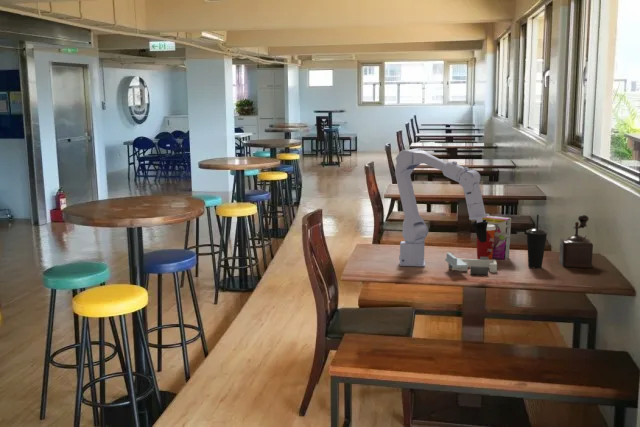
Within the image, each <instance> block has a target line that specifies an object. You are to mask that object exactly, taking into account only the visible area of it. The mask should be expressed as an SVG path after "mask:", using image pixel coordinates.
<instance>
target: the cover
mask: <svg viewBox="0 0 640 427" xmlns="http://www.w3.org/2000/svg"><path fill="white" fill-rule="evenodd" d="M451 253H452V252H446V257H445V258H444V262H447V263H448V264H450V265H451V266H452V267H467V264H466V263H464V262H463V261H462V260H460V259H461V258H459V257H456V256H455V255H454V254H453V253H452V254H453V255H452V254H451ZM467 268H468V267H467Z"/></svg>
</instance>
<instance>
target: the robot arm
mask: <svg viewBox="0 0 640 427" xmlns="http://www.w3.org/2000/svg"><path fill="white" fill-rule="evenodd" d="M395 161H396V163H395V164H396V165H395V170H394V176H395V179H396V186H397V188H398V192H399V198H400V202H401V206H402V210H403V215H404V219H403V222H402V231H401V234H402V238H403V241H402V240H401V241H400V244H399V257H398V260H399V266H400V267H401V266H402V267H403V266H405V267H421V268H422V267H424V268H425V266H426V260H425V240H426V237H427V236H428V234H429V228H428V226H427V224H426V223H425V220H424V218H423V216H421V215H420V212H419V209H418V205H417V204H418V203H417V199H416V196H415V190H414V186H413V181H412V178H411V177H412V176H411V175H412V173H413V171H414V170H415V169H416V168H417V167H418V166H420V165H421V164H425V165H427V166H430V167H431V168H434V169H437V170H440V171H441V172H442V174H443V176H444V177H446V178H448V179H451V180H453V181H455V182H456V183H458V184H459V185H460V186H461V187H462V188H463V193H464V198H465V201H466V206H467V207H466V208H467V212H468V216H469V217H468V219H469V220H470V221H473V222H470V225H471V226H472V228H473V230H474V232H475V234H476V238H477V237H478V239H479V241H480V242H481V243H482V242H487V233H486V231H487V224H488V221H487V222H486V219H485V220H482V218H484V217H486V216H490V214H489V213H486V209H485V205H484V200H483V199H484V198H483V194H482V191H481V186H480V182H481V180H482V179H481V178H482V177H481V174H480V173H479V172H478V171H477V170H476V169H469V167H468V166H462V165H461V164H458V162H457V161H455V160H453V161H452V160H451V161H447V162H446V161H443V160H442V159H440V158H438V157H436V156H434V155H432V154H430V153H429V152H427V151H426V150H423V149H420V148H417V147H416V148H415V147H414V148H412V149H402V150H401V151H399V152H398V154H397V155H396V157H395Z"/></svg>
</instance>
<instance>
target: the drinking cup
mask: <svg viewBox="0 0 640 427" xmlns="http://www.w3.org/2000/svg"><path fill="white" fill-rule="evenodd" d="M539 217H540V216H539V214H536V226H535V227H533V228H530V229H528V230H527V229H526V232H525V233H526V240H527V242H526V244H527V261H528V262H527V263H528V264H527V265H528V267H529V268H530V269H542V268H543V262H544V261H543V260H544V255H545V248H546V241H547V235H548V231H547V230H545V229H542V228H539Z"/></svg>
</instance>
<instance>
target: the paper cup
mask: <svg viewBox="0 0 640 427" xmlns="http://www.w3.org/2000/svg"><path fill="white" fill-rule="evenodd" d="M495 230H496V228H495V225H492V224H487V231H486V233H487V242H482V243H481V242H480V241H479V239H478V237H477V236H476V258H477V259H480V257H489V260H493V258H492V255H493V245H494V236H495Z"/></svg>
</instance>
